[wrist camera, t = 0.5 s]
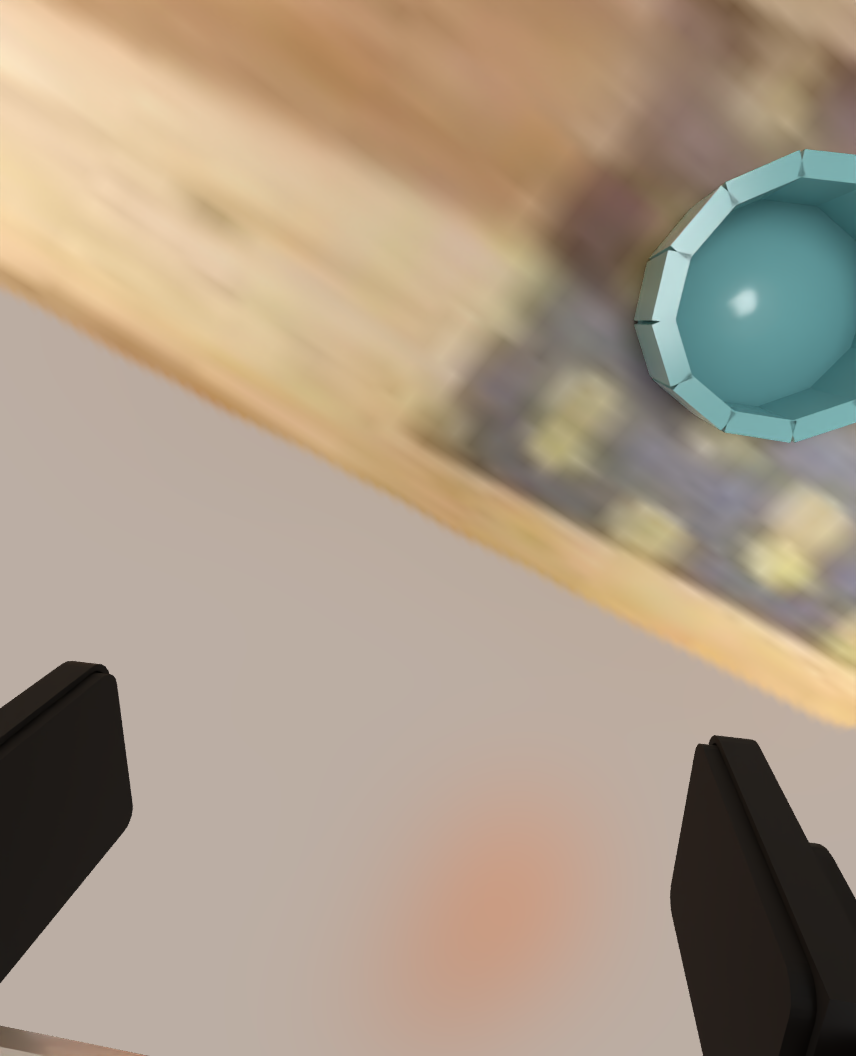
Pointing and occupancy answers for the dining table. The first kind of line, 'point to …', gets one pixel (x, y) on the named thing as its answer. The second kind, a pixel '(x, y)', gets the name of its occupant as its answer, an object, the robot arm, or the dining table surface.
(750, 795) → the robot arm
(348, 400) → the dining table surface
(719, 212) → the bowl
